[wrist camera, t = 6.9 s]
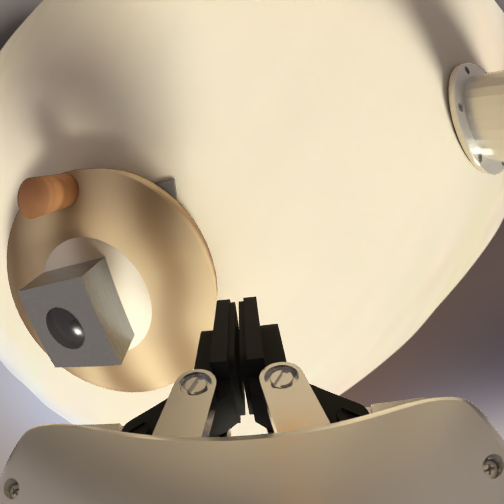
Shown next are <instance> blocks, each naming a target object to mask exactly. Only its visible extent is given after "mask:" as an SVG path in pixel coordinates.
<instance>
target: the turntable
mask: <svg viewBox="0 0 504 504" xmlns="http://www.w3.org/2000/svg"><path fill="white" fill-rule="evenodd" d="M18 206H19V209H20V210H19V212H18V214H17V215H16V218H15V220H14V223H13V225H12V228H11V232H10V236H9V241H8V249H7V271H8V280H9V285H10V289H11V293H12V297H13V300H14V303H15V306H16V308H17V310H18V312H19V315H20V317H21V319H22V321H23V322H24V324H25V326H26V328H27V329H28V331H29V332H30V334H31V335H32V337H33V338H34V340H35V341H36V342H37V343H38V344H39V346H40V347H41V348H42V349H43V350H44V351H45V352H46V350H45V349H44V347H43V345H42V343H41V341H40V339H39V337H38V336H37V334H36V332H35V330H34V328H33V326H32V324H31V322H30V319H29V317H28V315H27V313H26V311H25V308H24V306H23V304H22V302H21V299H20V297H19V294H18V291H19V290H20V289H22V288H23V287H24V286H26V285H27V284H28V283H30V282H31V281H32V280H34V279H35V278H36V277H38V276H39V275H41V274H42V273H43V272H47V271H51V270H55V269H59V268H63V267H66V266H70V265H74V264H78V263H82V262H86V261H90V260H94V259H98V258H102V257H105V258H106V261H107V264H108V267H109V270H110V273H111V276H112V279H113V281H114V284H115V287H116V290H117V292H118V295H119V298H120V300H121V303H122V305H123V308H124V310H125V313H126V315H127V318H128V320H129V322H130V325H131V327H132V329H133V332H134V334H135V335H134V338H133V340H132V342H131V344H130V346H129V349H128V351H127V353H126V355H125V358H124V360H123V362H122V365H114V366H96V367H63V368H64V369H66V370H67V371H69V372H70V373H72V374H73V375H75V376H77V377H79V378H80V379H82V380H84V381H87V382H89V383H91V384H94V385H96V386H99V387H103V388H106V389H110V390H115V391H123V392H145V391H151V390H156V389H159V388H163V387H166V386H168V385H170V384H172V383H175V381H176V380H177V378H178V377H179V376H180V375H181V374H183V373H185V372H187V371H190V370H193V369H194V366H195V361H196V355H197V350H198V344H199V339H200V334H201V331H210V330H213V326H214V319H215V311H216V303H217V280H216V272H215V268H214V264H213V259H212V256H211V254H210V251H209V248H208V246H207V243H206V241H205V239H204V237H203V235H202V233H201V231H200V230H199V228H198V226H197V225H196V224H195V222H194V221H193V219H192V218H191V216H190V215H189V214H188V213H187V211H186V210H185V209H184V208H183V207H182V206H181V205H180V204H179V202H178V201H176V200H175V199H174V198H173V197H172V196H171V195H170V194H168V193H167V192H166V191H165V190H163V189H162V188H160V187H159V186H157V185H156V184H154V183H153V182H151V181H149V180H147V179H145V178H143V177H141V176H138V175H136V174H133V173H129V172H126V171H123V170H116V169H108V168H103V169H79V170H74V171H69V172H65V173H62V174H59V175H49V176H41V177H33V178H28V179H26V180H24V181H23V183H22V184H21V186H20V188H19V191H18ZM46 353H47V352H46Z"/></svg>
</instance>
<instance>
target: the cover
mask: <svg viewBox="0 0 504 504" xmlns="http://www.w3.org/2000/svg"><path fill="white" fill-rule="evenodd" d="M18 294H19V297H20V299H21V302H22V304H23V306H24V308H25V311H26V313H27V315H28V317H29V319H30V322H31V324H32V326H33V328H34V330H35V332H36V334H37V336H38V337H39V339H40V341H41V343H42V345H43V347H44V349H45V350H46V352H47V354H48V356H49V357H50V359H51V361H52V362H53V364H54V366H55V367H96V366H114V365H122V362H123V360H124V358H125V355H126V353H127V351H128V349H129V346H130V344H131V342H132V340H133V338H134V335H135V334H134V332H133V329H132V327H131V325H130V322H129V320H128V318H127V315H126V313H125V310H124V308H123V305H122V303H121V300H120V298H119V295H118V292H117V290H116V287H115V284H114V281H113V279H112V276H111V273H110V270H109V267H108V264H107V261H106V258H105V257H102V258H98V259H94V260H90V261H86V262H82V263H78V264H74V265H70V266H66V267H63V268H59V269H55V270H51V271H47V272H43V273H42V274H41V275H39V276H38V277H36V278H35V279H34V280H32V281H31V282H30V283H28V284H27V285H26V286H24V287H23V288H22V289H20V290H19V291H18Z"/></svg>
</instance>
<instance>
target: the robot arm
mask: <svg viewBox="0 0 504 504" xmlns="http://www.w3.org/2000/svg"><path fill="white" fill-rule="evenodd" d="M448 90H449V104H450V111H451V116H452V120H453V124H454V127H455V130H456V133H457V136H458V138H459V141H460V143H461V146H462V147H463V149H464V151H465V153H466V155H467V157H468V158H469V160H470V161H471V163H472V164H473V165H474V166H475V167H476V168H477V169H478V170H480V171H481V172H483V173H487V174H494V175H495V174H498V173H500V172H502V171H503V170H504V70H502V71H496V72H491V73H487V72H486V71H485V70H483V69H482V68H481V67H479V66H478V65H476V64H473V63H463V64H459V65H458V66H456V67H455V68H454V70H453V71H452V73H451V76H450V79H449V88H448ZM243 300H244V301H241V302H239V325H238V319H237V312H236V305H235V302H232V303H230V299H228V300H218V301H217V303H216V311H215V319H214V326H213V330H210V331H201V334H200V339H199V344H198V350H197V355H196V361H195V366H194V370H190V371H187V372H185V373H183V374H181V375H180V376H179V377H178V378H177V380H176V381H175V383H174V386H173V388H172V390H171V392H170V395H169V397H168V398H167V399H166V400H164V401H163V402H161V403H159V404H158V405H156V406H154V407H153V408H151V409H149V410H148V411H146V412H144V413H143V414H141V415H139V416H137V417H136V418H134V419H132V420H131V421H129V422H128V423H127V424H126V425H125V426H122V425H121V424H120V423H119V424H99V425H73V424H56V423H52V424H43V425H38V426H35V427H32V428H31V429H29V430H28V431H27V432H25V434H24V435H23V436H22V437H21V438H20V440H19V441H18V443H17V444H16V446H15V448H14V450H13V451H12V453H11V455H10V457H9V459H8V461H7V464H6V465H5V467H4V470H3V472H2V474H1V477H0V504H504V440H503V439H502V437H501V436H500V434H499V433H498V431H497V430H496V429H495V427H494V426H493V425H492V423H491V422H490V421H489V419H488V418H487V417H486V416H485V415H484V414H483V413H482V412H481V411H480V409H478V408H477V407H476V406H475V405H474V404H472V403H471V402H469V401H468V400H465V399H462V398H457V397H439V398H431V399H426V398H416V399H410V400H403V401H396V402H388V403H379V404H372V406H371V407H366V408H365V407H364V406H362V405H361V404H359V403H356V402H354V401H351V400H348V399H346V398H343V397H340V396H338V395H335V394H333V393H330V392H328V391H326V390H323V389H321V388H318V387H316V386H314V385H311V384H309V382H308V381H307V379H306V377H305V375H304V373H303V371H302V370H301V369H300V367H298V366H297V365H295V364H292V363H289V362H286V358H285V353H284V349H283V345H282V340H281V336H280V332H279V328H278V324H271V325H263V326H260V323H259V316H258V308H257V301H256V297H248V298H243ZM244 387H245V393H246V398H247V403H248V409H249V414H254V417H255V422H257V423H259V424H260V425H262V426H264V427H265V428H266V433H267V434H260V435H249V436H233V437H231V428H232V427H233V426H234V425H236V424H237V423H241V422H240V415H245V393H244Z"/></svg>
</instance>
